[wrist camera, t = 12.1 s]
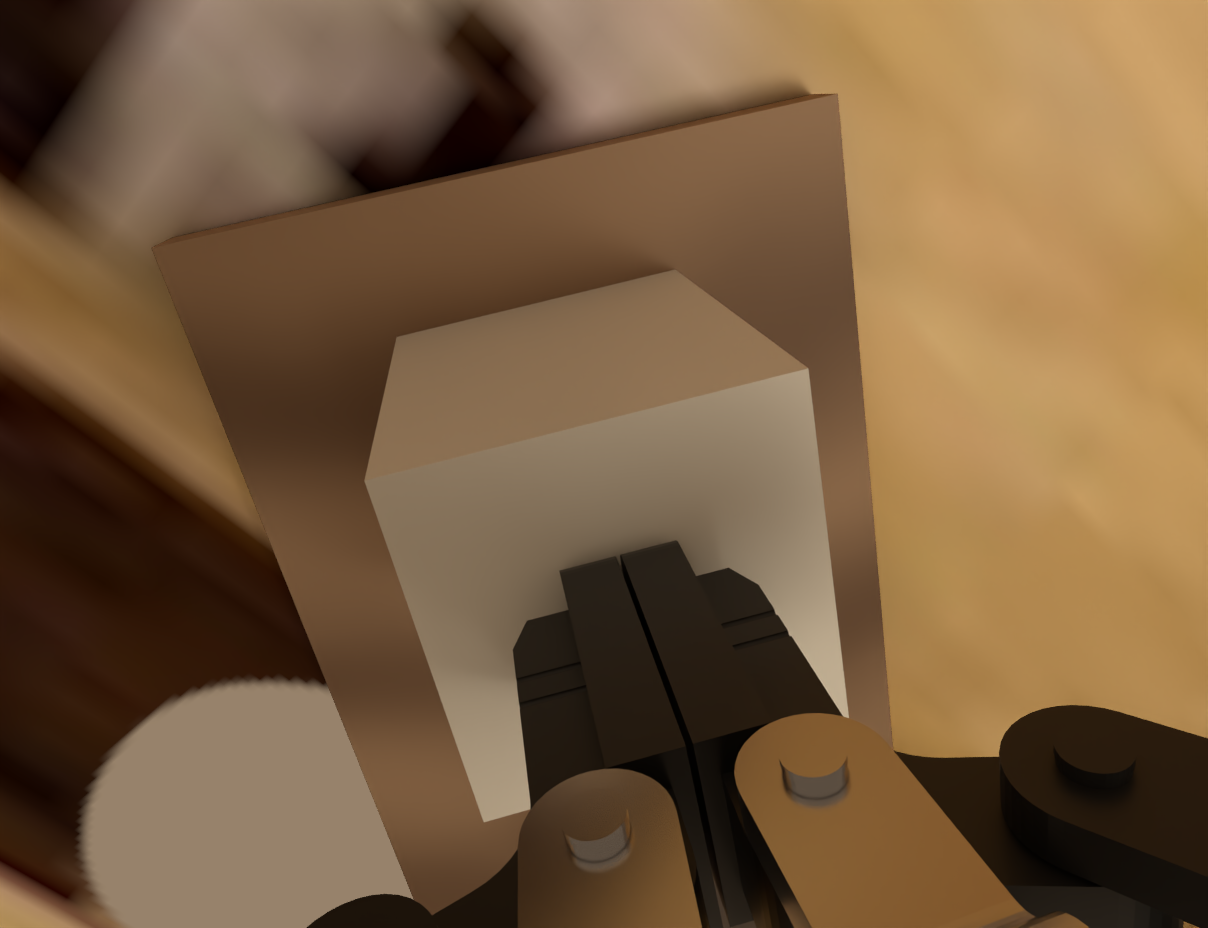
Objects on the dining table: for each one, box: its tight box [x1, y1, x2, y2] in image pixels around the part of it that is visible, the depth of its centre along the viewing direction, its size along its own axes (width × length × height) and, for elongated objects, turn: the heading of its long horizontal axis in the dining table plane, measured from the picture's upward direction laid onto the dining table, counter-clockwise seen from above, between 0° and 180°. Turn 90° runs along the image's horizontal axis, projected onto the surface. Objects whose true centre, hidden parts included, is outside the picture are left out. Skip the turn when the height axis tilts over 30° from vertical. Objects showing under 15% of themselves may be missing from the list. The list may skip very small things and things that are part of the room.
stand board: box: [152, 94, 893, 915], centre depth 20 cm, size 20×12×1 cm, turn 11°
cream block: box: [364, 270, 849, 822], centre depth 14 cm, size 5×5×7 cm
